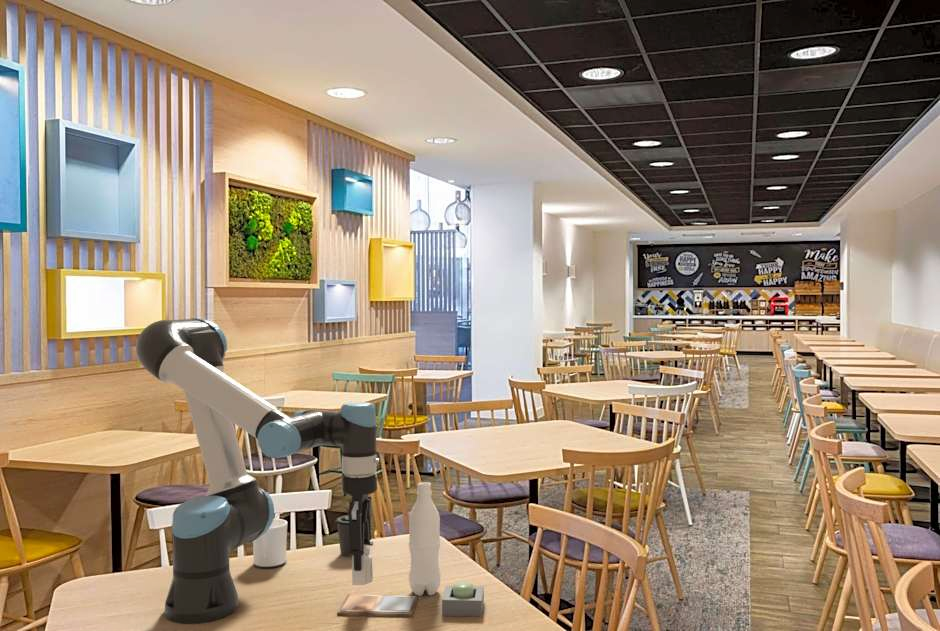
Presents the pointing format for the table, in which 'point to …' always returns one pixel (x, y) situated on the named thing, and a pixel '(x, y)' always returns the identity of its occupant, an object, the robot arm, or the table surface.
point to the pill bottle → (368, 565)
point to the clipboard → (378, 605)
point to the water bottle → (424, 543)
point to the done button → (463, 590)
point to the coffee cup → (343, 534)
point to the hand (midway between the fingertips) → (361, 580)
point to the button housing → (463, 603)
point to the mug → (271, 546)
